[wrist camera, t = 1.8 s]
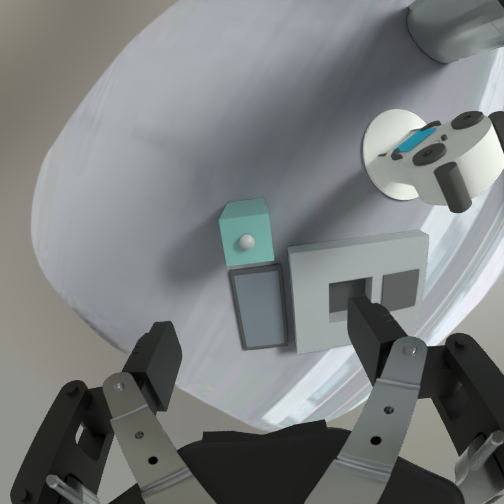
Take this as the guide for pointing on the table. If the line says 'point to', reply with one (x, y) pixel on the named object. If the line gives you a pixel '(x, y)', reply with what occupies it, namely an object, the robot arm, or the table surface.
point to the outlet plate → (354, 284)
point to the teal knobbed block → (246, 232)
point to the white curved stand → (434, 156)
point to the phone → (260, 306)
